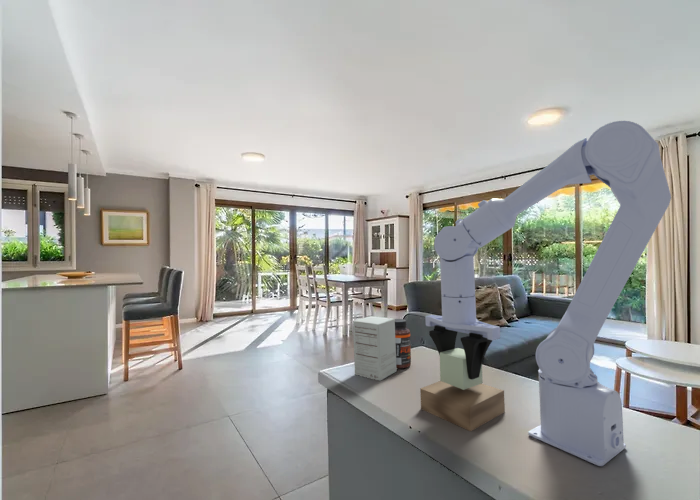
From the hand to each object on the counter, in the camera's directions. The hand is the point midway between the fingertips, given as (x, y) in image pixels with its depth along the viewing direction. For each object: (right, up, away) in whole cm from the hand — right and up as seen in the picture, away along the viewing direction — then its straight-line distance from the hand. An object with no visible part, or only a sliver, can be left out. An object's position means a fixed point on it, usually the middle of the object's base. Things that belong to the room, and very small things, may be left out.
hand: (460, 373), depth 59 cm
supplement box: (-13, -8, +20) cm, 25 cm away
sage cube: (0, -2, 0) cm, 2 cm away
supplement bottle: (-7, -7, +25) cm, 27 cm away
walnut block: (0, -7, 0) cm, 7 cm away
